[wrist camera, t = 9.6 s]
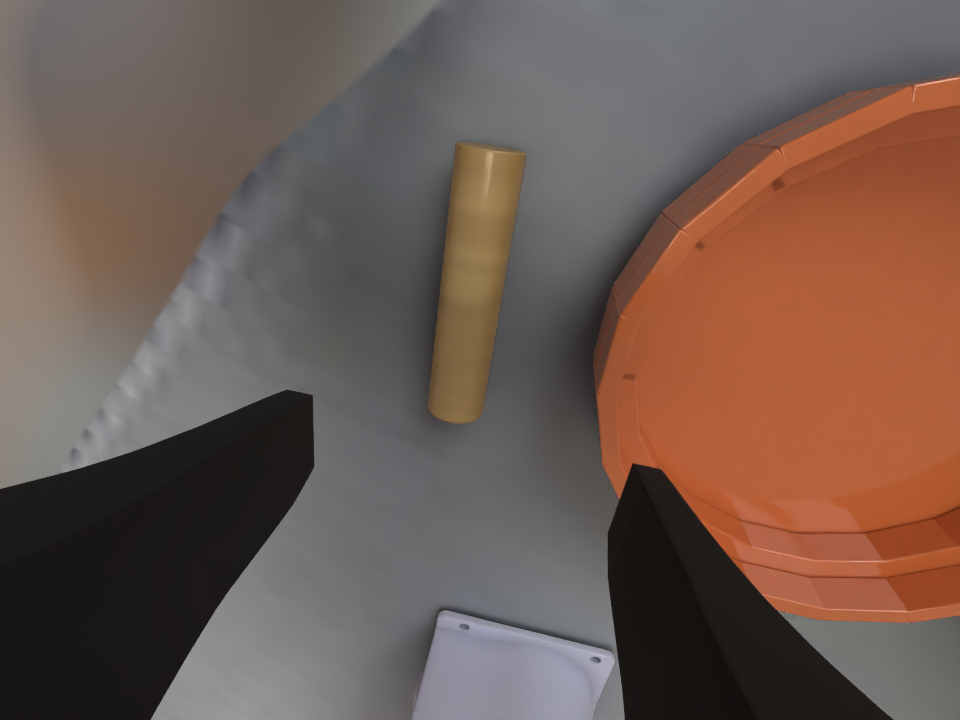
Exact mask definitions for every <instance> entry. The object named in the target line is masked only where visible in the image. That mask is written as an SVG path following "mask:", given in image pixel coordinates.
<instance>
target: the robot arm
mask: <svg viewBox="0 0 960 720" xmlns="http://www.w3.org/2000/svg"><path fill="white" fill-rule="evenodd" d="M313 468H314V433H313V395H310V394H305V393H301V392H296V391H291V390H285V391H282V392H279V393H277V394H274V395H272V396H269V397H267V398H264V399H262V400H259V401H257V402H255V403H252V404H250V405H248V406H246V407H243V408H241V409H239V410H236V411H234V412H232V413H229V414H227V415H225V416H222V417H220V418H217V419H215V420H213V421H210V422H208V423H206V424H203V425H201V426H199V427H196V428H194V429H191V430H188V431H186V432H183V433H181V434H178V435H176V436H173V437H170V438H168V439H165V440H163V441H160V442H157V443H155V444H152V445H150V446H147V447H144V448H142V449H139V450H136V451H133V452H130V453H127V454H124V455H121V456H118V457H115V458H112V459H109V460H106V461H102V462H99V463H96V464H93V465H89V466H86V467H83V468H80V469H76V470H73V471H69V472H65V473H61V474H58V475H54V476H50V477H46V478H42V479H38V480H34V481H30V482H26V483H22V484H18V485H15V486H11V487H7V488H3V489H0V720H151V718H152V716H153V714H154V712H155V711H156V709H157V707H158V705H159V704H160V702H161V700H162V698H163V697H164V695H165V693H166V692H167V690H168V688H169V686H170V685H171V683H172V681H173V680H174V678H175V676H176V674H177V673H178V671H179V669H180V668H181V666H182V664H183V662H184V661H185V659H186V657H187V656H188V654H189V652H190V651H191V649H192V647H193V646H194V644H195V643H196V641H197V639H198V638H199V636H200V634H201V633H202V631H203V629H204V628H205V626H206V625H207V623H208V621H209V620H210V618H211V616H212V615H213V613H214V612H215V610H216V609H217V607H218V606H219V604H220V603H221V601H222V600H223V598H224V597H225V596H226V594H227V593H228V591H229V590H230V588H231V587H232V586H233V584H234V583H235V582H236V580H237V579H238V578H239V576H240V575H241V574H242V572H243V571H244V570H245V568H246V567H247V566H248V564H249V563H250V562H251V560H252V559H253V558H254V556H255V555H256V554H257V552H258V551H259V550H260V548H261V547H262V546H263V544H264V543H265V542H266V540H267V539H268V538H269V537H270V535H271V534H272V532H273V531H274V530H275V528H276V527H277V526H278V524H279V523H280V522H281V520H282V519H283V518H284V516H285V515H286V514H287V512H288V511H289V509H290V508H291V507H292V505H293V504H294V502H295V500H296V499H297V497H298V495H299V493H300V492H301V490H302V488H303V486H304V485H305V483H306V481H307V479H308V477H309V475H310V473H311V472H312V470H313ZM608 581H609V590H610V598H611V606H612V614H613V622H614V629H615V637H616V645H617V652H618V660H619V667H620V675H621V683H622V691H623V702H624V713H625V720H893V719H892V718H891V717H890V716H888V715H887V714H886V713H885V712H884V711H883V710H881V709H880V708H879V707H878V706H877V705H876V704H875V703H873V702H872V701H871V700H870V699H869V698H868V697H867V696H866V695H865V694H863V693H862V692H861V691H860V690H859V689H858V688H857V687H856V686H854V685H853V684H852V683H851V682H850V681H849V680H848V679H847V678H846V677H844V676H843V675H842V674H841V673H840V672H839V671H838V670H837V669H836V668H834V667H833V666H832V665H831V664H830V663H829V662H828V661H827V660H826V659H825V658H824V657H823V656H822V655H821V654H820V653H819V652H818V651H816V650H815V649H814V648H813V647H812V646H811V645H810V644H809V643H808V642H807V641H806V640H805V639H804V638H803V637H802V636H801V635H800V634H799V633H798V632H797V631H796V630H795V629H794V628H793V626H792V625H791V624H790V623H789V622H788V621H787V620H786V619H785V618H784V617H783V616H782V615H781V614H780V613H779V612H778V611H777V610H776V609H775V608H774V607H773V606H772V605H771V604H770V603H769V602H768V601H767V600H766V598H765V597H764V596H763V595H762V594H761V593H760V592H759V591H758V590H757V588H756V587H755V586H754V585H753V584H752V583H751V582H750V580H749V579H748V578H747V577H746V576H745V575H744V574H743V572H742V571H741V570H740V569H739V568H738V567H737V566H736V564H735V563H734V562H733V561H732V560H731V558H730V557H729V556H728V555H727V554H726V552H725V551H724V550H723V549H722V547H721V546H720V545H719V544H718V542H717V541H716V540H715V539H714V537H713V536H712V535H711V534H710V532H709V531H708V530H707V528H706V527H705V526H704V525H703V523H702V522H701V521H700V519H699V518H698V517H697V515H696V514H695V513H694V511H693V510H692V509H691V507H690V506H689V505H688V503H687V502H686V501H685V499H684V498H683V497H682V495H681V494H680V493H679V491H678V490H677V489H676V487H675V486H674V485H673V483H672V482H671V481H670V479H669V478H668V477H667V475H666V474H665V473H664V472H663V470H662V469H658V468H653V467H649V466H644V465H639V464H635V463H632V466H631V469H630V472H629V475H628V477H627V480H626V483H625V486H624V489H623V492H622V494H621V497H620V500H619V503H618V506H617V509H616V511H615V514H614V517H613V520H612V523H611V526H610V528H609V531H608ZM614 662H615V661H614V655H613V653H611V652H610V651H608V650H605V649H601V648H597V647H593V646H589V645H585V644H581V643H577V642H573V641H569V640H565V639H561V638H557V637H553V636H549V635H545V634H541V633H537V632H533V631H529V630H525V629H521V628H517V627H513V626H509V625H505V624H501V623H496V622H492V621H488V620H484V619H480V618H476V617H472V616H468V615H464V614H460V613H456V612H452V611H448V610H444V611H441V612H439V614H438V618H437V623H436V629H435V632H434V636H433V640H432V644H431V647H430V651H429V655H428V659H427V662H426V666H425V670H421V671H420V674H419V677H418V680H417V684H416V688H415V693H414V697H413V702H412V710H414V711H413V715H412V719H411V720H593V711H594V708H595V706H596V704H597V702H598V700H599V697H600V695H601V693H602V691H603V688H604V686H605V684H606V682H607V679H608V677H609V675H610V673H611V670H612V668H613V666H614Z"/></svg>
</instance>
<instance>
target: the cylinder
mask: <svg viewBox="0 0 960 720" xmlns="http://www.w3.org/2000/svg"><path fill="white" fill-rule="evenodd" d="M525 161H526V153H525V152H523V151H519V150H515V149H510V148H505V147H499V146H493V145H486V144H479V143H470V142H457V143H456V146H455V156H454V165H453V174H452V184H451V193H450V202H449V212H448V221H447V230H446V240H445V249H444V258H443V268H442V277H441V286H440V296H439V305H438V314H437V324H436V333H435V342H434V352H433V361H432V370H431V380H430V389H429V398H428V408H429V410H430V412H431V413H432V414H433V415H434V416H435V417H437V418H438V419H440V420H443V421H446V422H449V423H457V424H462V423H469V422H472V421H475V420H477V419H478V418H479V417H480V416H481V415H482V413H483V407H484V401H485V396H486V390H487V384H488V378H489V372H490V366H491V360H492V354H493V349H494V343H495V337H496V331H497V325H498V319H499V313H500V307H501V302H502V296H503V290H504V284H505V278H506V272H507V266H508V260H509V255H510V249H511V243H512V237H513V231H514V225H515V219H516V213H517V208H518V202H519V196H520V190H521V184H522V178H523V172H524V166H525Z"/></svg>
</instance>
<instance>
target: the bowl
mask: <svg viewBox="0 0 960 720" xmlns="http://www.w3.org/2000/svg"><path fill="white" fill-rule="evenodd" d="M593 370H594V382H595V394H596V406H597V418H598V429H599V439H600V449H601V459H602V465H603V468H604V470H605V472H606V474H607V476H608V478H609V480H610V482H611V484H612V486H613V488H614V490H615V492H616V494H617V496H618V498H619V500H620V497H621V494H622V492H623V489H624V486H625V483H626V480H627V477H628V475H629V472H630V469H631V466H632V463H635V464H639V465H644V466H649V467H653V468H658V469H662V470H663V472H664V473H665V474H666V475H667V477H668V478H669V479H670V481H671V482H672V483H673V485H674V486H675V487H676V489H677V490H678V491H679V493H680V494H681V495H682V497H683V498H684V499H685V501H686V502H687V503H688V505H689V506H690V507H691V509H692V510H693V511H694V513H695V514H696V515H697V517H698V518H699V519H700V521H701V522H702V523H703V525H704V526H705V527H706V528H707V530H708V531H709V532H710V534H711V535H712V536H713V537H714V539H715V540H716V541H717V542H718V544H719V545H720V546H721V547H722V549H723V550H724V551H725V552H726V554H727V555H728V556H729V557H730V558H731V560H732V561H733V562H734V563H735V564H736V566H737V567H738V568H739V569H740V570H741V571H742V572H743V574H744V575H745V576H746V577H747V578H748V579H749V580H750V582H751V583H752V584H753V585H754V586H755V587H756V588H757V590H758V591H759V592H760V593H761V594H762V595H763V596H764V597H765V598H766V600H767V601H768V602H769V603H770V604H771V605H772V606H773V607H774V608H775V609H776V610H779V611H783V612H787V613H791V614H796V615H800V616H804V617H808V618H813V619H817V620H829V621H862V622H894V623H907V622H909V623H913V622H920V621H926V620H933V619H940V618H946V617H953V616H960V72H957V73H952V74H946V75H941V76H935V77H930V78H924V79H919V80H913V81H907V82H902V83H896V84H891V85H885V86H880V87H874V88H869V89H863V90H858V91H852V92H849V93H848V94H843V95H841V96H839V97H837V98H835V99H833V100H831V101H829V102H827V103H824V104H822V105H820V106H818V107H816V108H814V109H812V110H810V111H808V112H806V113H804V114H802V115H800V116H798V117H795V118H793V119H791V120H789V121H787V122H785V123H783V124H781V125H779V126H777V127H775V128H773V129H771V130H768V131H766V132H764V133H762V134H760V135H758V136H756V137H754V138H752V139H750V140H748V141H746V142H744V143H743V144H742V145H739V146H737V147H736V148H735V149H734V150H733V151H732V152H730V153H729V154H728V155H727V156H726V157H725V158H723V159H722V160H721V161H720V162H719V163H718V164H716V165H715V166H714V167H713V168H712V169H711V170H709V171H708V172H707V173H706V174H705V175H704V176H702V177H701V178H700V179H699V180H698V181H697V182H695V183H694V184H693V185H692V186H691V187H690V188H688V189H687V190H686V191H685V192H684V193H683V194H681V195H680V196H679V197H678V198H677V199H676V200H674V201H673V202H672V203H671V204H670V205H669V206H667V207H666V208H665V209H664V210H663V211H662V214H660V215H659V217H658V218H657V220H656V221H655V223H654V224H653V226H652V227H651V229H650V230H649V232H648V233H647V235H646V236H645V238H644V239H643V241H642V242H641V244H640V245H639V247H638V248H637V250H636V251H635V253H634V254H633V256H632V257H631V259H630V260H629V262H628V263H627V265H626V266H625V268H624V269H623V271H622V272H621V274H620V275H619V277H618V278H617V280H616V282H615V283H614V287H612V289H611V292H610V296H609V300H608V303H607V307H606V310H605V314H604V318H603V321H602V325H601V328H600V332H599V336H598V339H597V343H596V346H595V350H594V354H593Z"/></svg>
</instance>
